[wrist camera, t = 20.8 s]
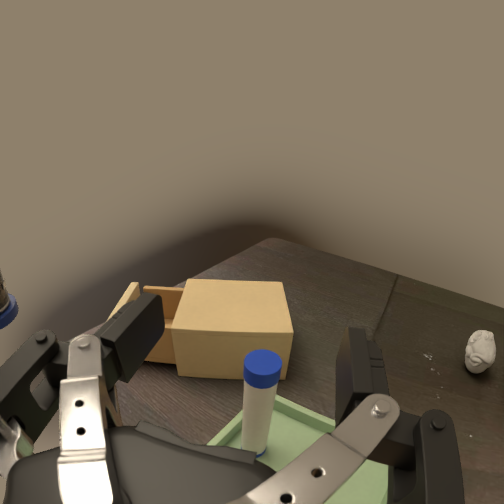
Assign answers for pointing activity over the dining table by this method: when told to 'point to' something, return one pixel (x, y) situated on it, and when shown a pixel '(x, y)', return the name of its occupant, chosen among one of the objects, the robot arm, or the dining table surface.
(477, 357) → the frog figurine
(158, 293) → the drawer
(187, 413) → the dining table surface
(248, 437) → the marker
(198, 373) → the cabinet
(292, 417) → the tray
